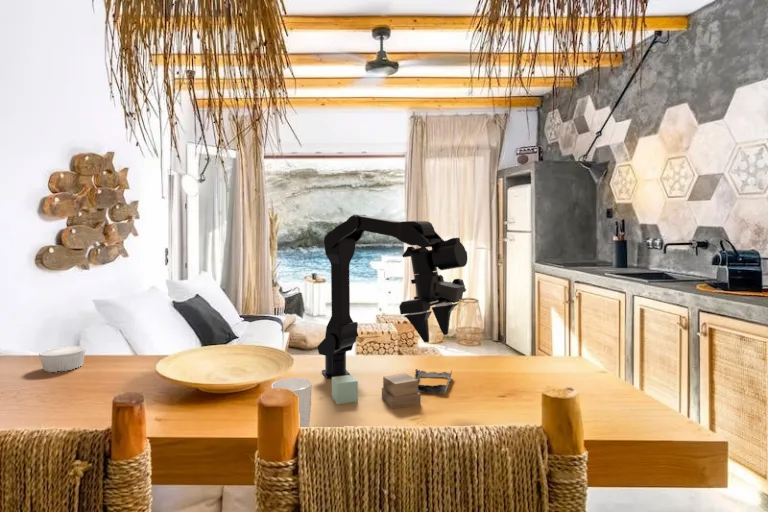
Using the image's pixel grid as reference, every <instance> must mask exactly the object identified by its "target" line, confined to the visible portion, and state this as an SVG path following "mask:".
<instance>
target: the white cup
mask: <svg viewBox="0 0 768 512" xmlns="http://www.w3.org/2000/svg"><path fill="white" fill-rule="evenodd" d="M312 385H313V383H312V381H311V380H310V379H308V378H304V377H287V378H282V379H279V380H276V381H274V382H273V383H271V390H272V389H274V388H282V389H288V390H291V391H293V392H294V393H296V394H297V395H298V397H299V413H300V427H309V428H310V421H311V411H312V409H311V408H312V407H311V406H312V389H313V388H312V387H313V386H312Z"/></svg>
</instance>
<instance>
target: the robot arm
mask: <svg viewBox="0 0 768 512" xmlns="http://www.w3.org/2000/svg"><path fill="white" fill-rule="evenodd" d="M365 232H368V233H373V234H378V235H383V236H388V237H392V238H395V239H396V240H397V241H400V242H402V243H404V244H406V245H409V246H408V247H407V248H406V250H405V251H404V252H403V253H402V258H410V261H411V266H412V273H413V279H410V282H411V283H410V284H411V285H414V284H415V289H416V290H415V291H416V296H413V299H408V300H404V301H401V302H400V304H399V306H398V308H399V313H400V314H399V315H403V317H404V318H405V319H407V320H408V322H409V323H410V324H411V325H412V327H413V328H414V329H415V330H416V332H417V334H418V335H419V337H420V338H421V340H422V341H423V342H424V343H429V342H430V332H429V330H430V328H429V317H430V315H431V314H432V313H433V315H434V317H435V320H436V322H437V324H438V326H439V329H440V331H441V333H442V336H448V334H449V329H450V328H449V327H450V322H451V321H450V320H451V314H452V311H453V310H454V309H455V308H456V307H457V306H458V304H457V303H459V302H460V300H463V295H464V293H465V292H466V291H467V289H466V285H465V284H464V283H465V282H464V279H461V278H454V279H453V280H452V281H446V280H444V276H443V275H442V274H439V272H438V270H439V271H445V270H446V271H447V270H451V269H459V268H464V267H466V265H467V263H468V251H467V250H466V248H465V246H464V245H463V243H462V242H461V239H460V237H451V238H450V239H447V240H444V239H443V238H442V237H441V236H440V235H439V234H438V233H437V231H435V227H434V226H433V224H432V223H431V222H430V221H428V220H427V221H426V220H425V221H424V220H409V221H408V220H407V221H398V220H397V221H396V220H392V219H386V218H380V217H375V216H369V215H366V214H352V215H351V216H349V217H348V218H347V219H346V220H345V221H344V222H342V223H341V224H339V225H337V226H336V227H334V228H333V229H332V230H331V231H328V232H327V234H326V235H325V236H324V238H323V246H324V253H325V256H326V258H327V259H328V261H329V263H330V265H331V266H330V271H331V272H330V279H331V280H330V287H331V289H330V291H331V293H330V294H331V299H330V300H331V301H330V302H331V315H330V319H329V321H328V322H327V325H326V329H325V336H324V338H323V340H322V341H321V342H320V343H318V345H317V346H316V347H317V351H318V354H319V355H321V356H324V360H325V361H324V364H325V366H324V367H325V369H322V370H321V373H322V374H323V376H324V377H325V378H326V379H332V377H337V376H346V375H351V373H350V372H349V371H347V352H348V351H349V352H350V351H352V350H353V347H354V344H355V343H356V342H357V337H359V334H358V333H359V332H358V328H359V327H358V325H359V324H358V322H357V321H354V320H353V318H352V317H351V308H350V307H351V305H350V304H351V303H350V297H351V294H350V293H351V291H350V284H351V283H350V265H351V264H350V263H351V261H352V259H353V257H354V255H355V251H356V244H357V243H358V242H359V241H360V240H361V239H362V237H363V235H364V233H365ZM414 246H418V247H414ZM428 248H431V249H430V250H429V249H428ZM430 310H431V311H430Z"/></svg>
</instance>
